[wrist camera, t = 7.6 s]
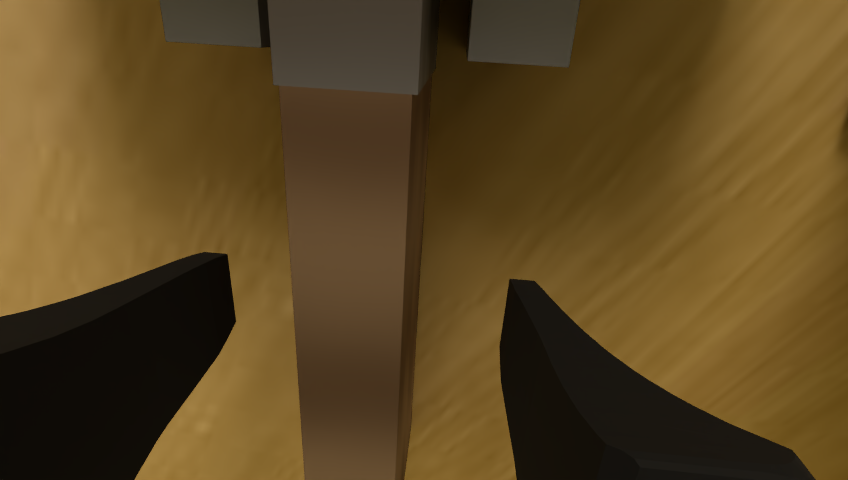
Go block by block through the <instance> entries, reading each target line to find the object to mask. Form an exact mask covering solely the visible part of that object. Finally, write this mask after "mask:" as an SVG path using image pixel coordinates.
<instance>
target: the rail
mask: <svg viewBox="0 0 848 480" xmlns="http://www.w3.org/2000/svg"><path fill="white" fill-rule="evenodd" d="M267 1H268V16H269V30H270V44H271V58H272V73H273V85H278V86H279V95H280V110H281V125H282V141H283V156H284V171H285V186H286V201H287V217H288V232H289V247H290V262H291V278H292V293H293V308H294V323H295V338H296V354H297V369H298V384H299V399H300V414H301V430H302V445H303V460H304V475H305V480H404V476H405V469H406V461H407V453H408V446H409V438H410V430H411V416H412V400H413V383H414V366H415V349H416V332H417V316H418V299H419V282H420V265H421V249H422V232H423V215H424V198H425V182H426V165H427V148H428V131H429V115H430V98H431V81H432V73H433V72H434V70H435V69H436V55H437V39H438V23H439V7H440V0H267Z"/></svg>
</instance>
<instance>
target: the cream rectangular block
mask: <svg viewBox="0 0 848 480" xmlns="http://www.w3.org/2000/svg"><path fill="white" fill-rule="evenodd" d="M579 5H580V0H471V2H470V14H469V26H468V37H467V49H466V52H467V60H468V61H476V62H492V63H507V64H523V65H538V66H554V67H569V63H570V58H571V52H572V46H573V40H574V34H575V28H576V22H577V16H578V11H579ZM160 6H161V13H162V19H163V26H164V33H165V39H166V42H182V43H197V44H213V45H228V46H244V47H259V48H263V47H271V44H270V30H269V16H268V1H267V0H160Z"/></svg>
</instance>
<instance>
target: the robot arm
mask: <svg viewBox="0 0 848 480" xmlns="http://www.w3.org/2000/svg"><path fill="white" fill-rule="evenodd" d="M235 322H236V318H235V310H234V302H233V294H232V287H231V279H230V271H229V263H228V255H227V254H220V253H208V252H203V253H199V254H195V255H191V256H188V257H185V258H182V259H179V260H177V261H174V262H171V263H168V264H166V265H163V266H161V267H158V268H155V269H153V270H150V271H147V272H145V273H142V274H139V275H137V276H134V277H132V278H129V279H126V280H123V281H121V282H118V283H115V284H112V285H109V286H106V287H103V288H101V289H98V290H95V291H92V292H89V293H86V294H83V295H80V296H77V297H74V298H71V299H68V300H64V301H61V302H58V303H54V304H50V305H47V306H43V307H39V308H36V309H32V310H28V311H24V312H20V313H16V314H11V315H7V316H2V317H0V480H134V479H135V477H136V476H137V474H138V472H139V471H140V469H141V467H142V465H143V464H144V462H145V460H146V459H147V457H148V455H149V453H150V452H151V450H152V448H153V447H154V445H155V443H156V441H157V440H158V438H159V437H160V435H161V434H162V432H163V431H164V429H165V428H166V426H167V425H168V423H169V422H170V421H171V419H172V418H173V417H174V415H175V414H176V413H177V411H178V410H179V409H180V407H181V406H182V404H183V403H184V402H185V400H186V399H187V398H188V396H189V395H190V394H191V392H192V391H193V389H194V388H195V387H196V385H197V384H198V383H199V381H200V380H201V379H202V377H203V376H204V374H205V373H206V372H207V370H208V369H209V367H210V366H211V365H212V363H213V362H214V361H215V359H216V358H217V356H218V355H219V353H220V351H221V350H222V348H223V346H224V344H225V342H226V341H227V339H228V337H229V335H230V333H231V331H232V329H233V327H234V324H235ZM500 371H501V384H502V391H503V397H504V403H505V409H506V414H507V420H508V426H509V432H510V437H511V443H512V449H513V455H514V461H515V469H516V477H517V480H815V478H814V477H813V476H812V474H811V473H810V472H809V471H808V469H807V468H806V467H805V465H804V464H803V463H802V462H801V460H800V459H799V458H798V456H797V455H796V454H795V453H794V452H793V450H791V449H789V448H786V447H784V446H781V445H779V444H777V443H774V442H772V441H769V440H767V439H765V438H762V437H760V436H757V435H755V434H753V433H750V432H748V431H746V430H743V429H741V428H738V427H736V426H734V425H731V424H729V423H727V422H725V421H723V420H721V419H719V418H717V417H715V416H713V415H711V414H709V413H707V412H705V411H703V410H701V409H699V408H697V407H695V406H693V405H691V404H689V403H687V402H685V401H683V400H682V399H680V398H678V397H676V396H674V395H673V394H671V393H669V392H668V391H666V390H664V389H663V388H661V387H659V386H658V385H656V384H654V383H653V382H651V381H649V380H648V379H646V378H645V377H643V376H641V375H640V374H638V373H637V372H635V371H634V370H632V369H631V368H630V367H628V366H627V365H626V364H624V363H623V362H621V361H620V360H619V359H617V358H616V357H614V356H613V355H612V354H610V353H609V352H608V351H607V350H605V349H604V348H603V347H602V346H600V345H599V344H598V343H597V342H596V341H595V340H594V339H592V338H591V337H590V336H589V335H588V334H587V333H585V332H584V331H583V330H582V329H581V328H580V327H579V326H578V325H577V324H576V323H575V322H574V321H573V320H572V319H571V318H570V317H569V316H568V315H567V314H566V313H565V312H564V311H563V310H562V309H561V308H560V307H559V306H558V305H557V304H556V303H555V302H554V301H553V300H552V299H551V298H550V297H549V296H548V295H547V294H546V292H545V291H544V290H543V289H542V288H541V287H540V286H539V285H538V284H537V283H536V282H535V281H529V280H518V279H510V280H509V287H508V293H507V300H506V307H505V314H504V320H503V327H502V334H501V341H500Z"/></svg>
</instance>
